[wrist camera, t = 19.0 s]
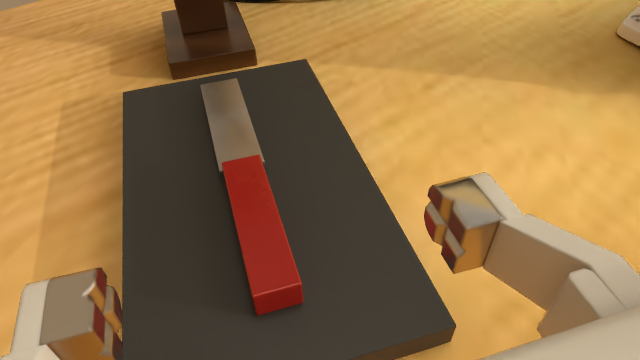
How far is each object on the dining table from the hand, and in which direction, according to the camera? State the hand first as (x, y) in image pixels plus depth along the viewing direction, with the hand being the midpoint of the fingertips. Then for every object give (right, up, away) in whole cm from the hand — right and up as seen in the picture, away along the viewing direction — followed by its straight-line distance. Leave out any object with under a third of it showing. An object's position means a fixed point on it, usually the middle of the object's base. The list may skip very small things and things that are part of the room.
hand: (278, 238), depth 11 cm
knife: (-4, +2, +15) cm, 16 cm away
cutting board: (-3, 0, +16) cm, 17 cm away
